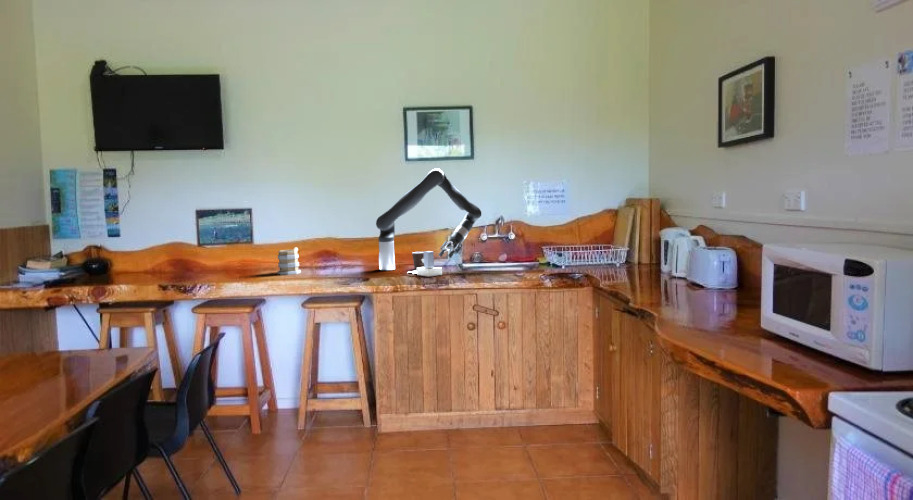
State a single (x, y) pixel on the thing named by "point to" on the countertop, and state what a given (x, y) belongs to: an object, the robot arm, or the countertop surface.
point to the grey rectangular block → (429, 259)
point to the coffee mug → (418, 259)
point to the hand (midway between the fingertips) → (444, 256)
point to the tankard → (288, 262)
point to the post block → (427, 271)
